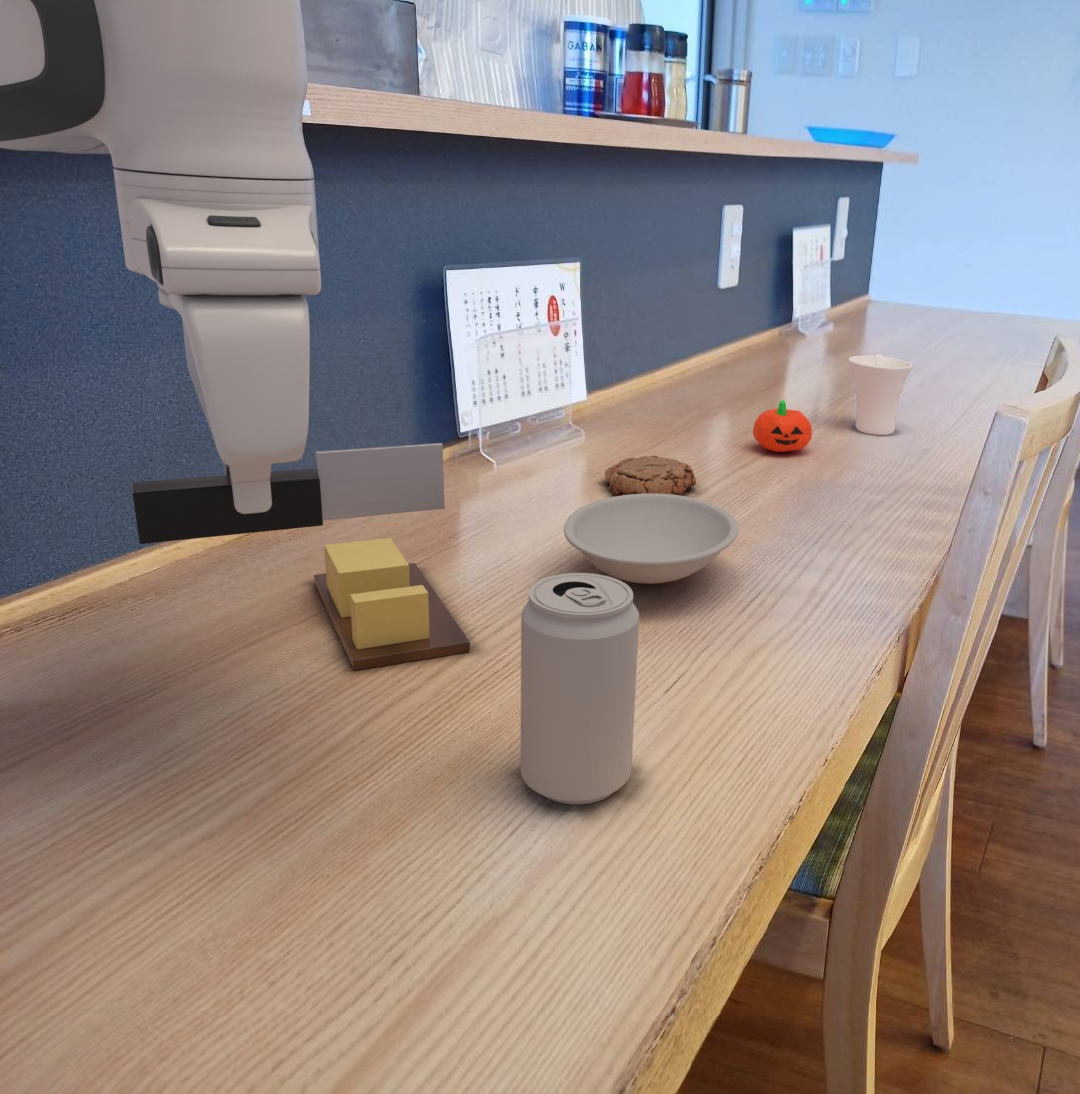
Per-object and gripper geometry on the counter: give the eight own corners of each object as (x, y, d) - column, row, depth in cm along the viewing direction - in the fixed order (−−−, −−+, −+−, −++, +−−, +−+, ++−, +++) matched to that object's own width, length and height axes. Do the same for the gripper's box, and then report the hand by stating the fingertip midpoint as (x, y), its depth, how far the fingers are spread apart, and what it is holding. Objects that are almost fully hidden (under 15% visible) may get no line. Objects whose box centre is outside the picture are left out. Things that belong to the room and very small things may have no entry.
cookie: (609, 504, 107) (610, 476, 106) (601, 473, 117) (602, 448, 116) (704, 505, 109) (706, 477, 108) (688, 475, 119) (689, 449, 118)
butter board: (353, 670, 71) (353, 660, 70) (314, 583, 83) (313, 574, 83) (470, 651, 74) (470, 641, 74) (415, 571, 87) (415, 562, 87)
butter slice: (356, 650, 72) (354, 602, 70) (352, 641, 73) (349, 594, 72) (429, 638, 74) (428, 592, 73) (424, 630, 75) (422, 584, 74)
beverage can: (592, 739, 65) (598, 560, 60) (652, 788, 60) (663, 599, 56) (500, 770, 61) (499, 581, 56) (557, 826, 56) (561, 625, 52)
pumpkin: (822, 452, 133) (827, 403, 131) (781, 461, 127) (786, 410, 125) (779, 439, 137) (784, 391, 135) (738, 448, 132) (742, 398, 130)
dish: (705, 633, 80) (709, 574, 78) (530, 604, 83) (531, 545, 81) (752, 557, 96) (756, 506, 94) (605, 534, 99) (606, 484, 97)
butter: (341, 618, 76) (338, 572, 75) (326, 587, 81) (324, 544, 80) (410, 608, 79) (409, 564, 77) (392, 579, 83) (390, 537, 82)
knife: (139, 544, 54) (129, 470, 52) (138, 532, 55) (128, 459, 54) (448, 513, 61) (446, 447, 60) (439, 502, 63) (437, 438, 62)
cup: (903, 425, 150) (912, 356, 147) (904, 441, 141) (914, 368, 138) (842, 418, 151) (849, 350, 148) (839, 434, 142) (847, 361, 139)
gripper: (142, 215, 58) (171, 452, 63) (162, 257, 42) (199, 573, 47) (264, 219, 61) (282, 445, 66) (326, 260, 45) (345, 556, 50)
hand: (248, 499), depth 56 cm, fingers closed on knife, 2 cm apart
